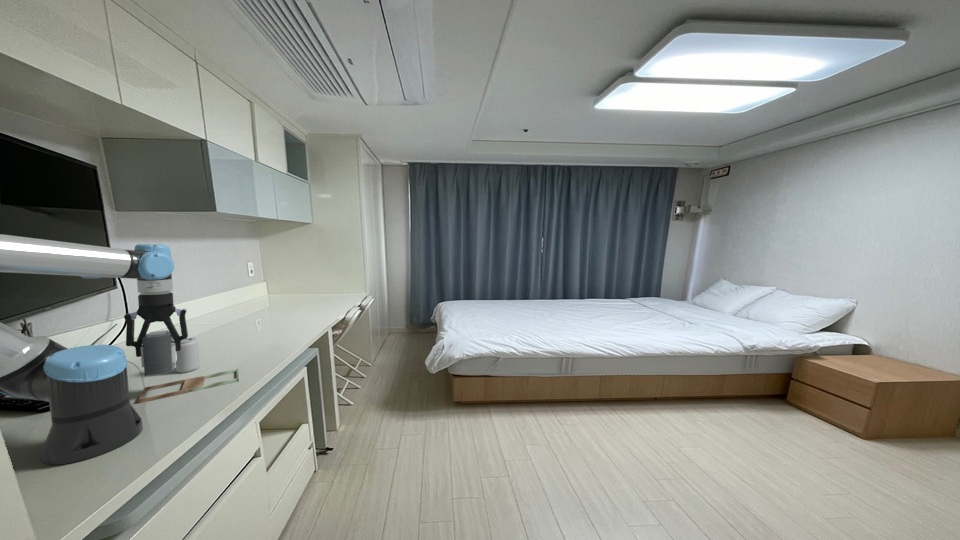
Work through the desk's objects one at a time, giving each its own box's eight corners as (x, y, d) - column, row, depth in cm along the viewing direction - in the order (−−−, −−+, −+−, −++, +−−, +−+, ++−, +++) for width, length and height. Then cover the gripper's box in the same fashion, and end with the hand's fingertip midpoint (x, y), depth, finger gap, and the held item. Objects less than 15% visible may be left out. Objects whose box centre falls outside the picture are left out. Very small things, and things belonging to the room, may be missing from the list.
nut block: (144, 376, 92) (142, 336, 91) (148, 369, 97) (146, 332, 96) (172, 371, 96) (170, 333, 95) (175, 365, 101) (172, 329, 100)
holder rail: (137, 403, 91) (137, 400, 91) (145, 390, 99) (145, 387, 98) (238, 381, 106) (238, 378, 106) (238, 371, 114) (238, 368, 114)
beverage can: (204, 367, 117) (202, 337, 116) (186, 374, 111) (184, 342, 109) (189, 366, 118) (187, 336, 116) (171, 373, 111) (168, 342, 110)
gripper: (104, 297, 86) (110, 374, 88) (195, 292, 98) (199, 360, 100) (113, 293, 91) (118, 366, 93) (197, 289, 104) (201, 353, 105)
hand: (160, 363), depth 96 cm, fingers closed on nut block, 6 cm apart
